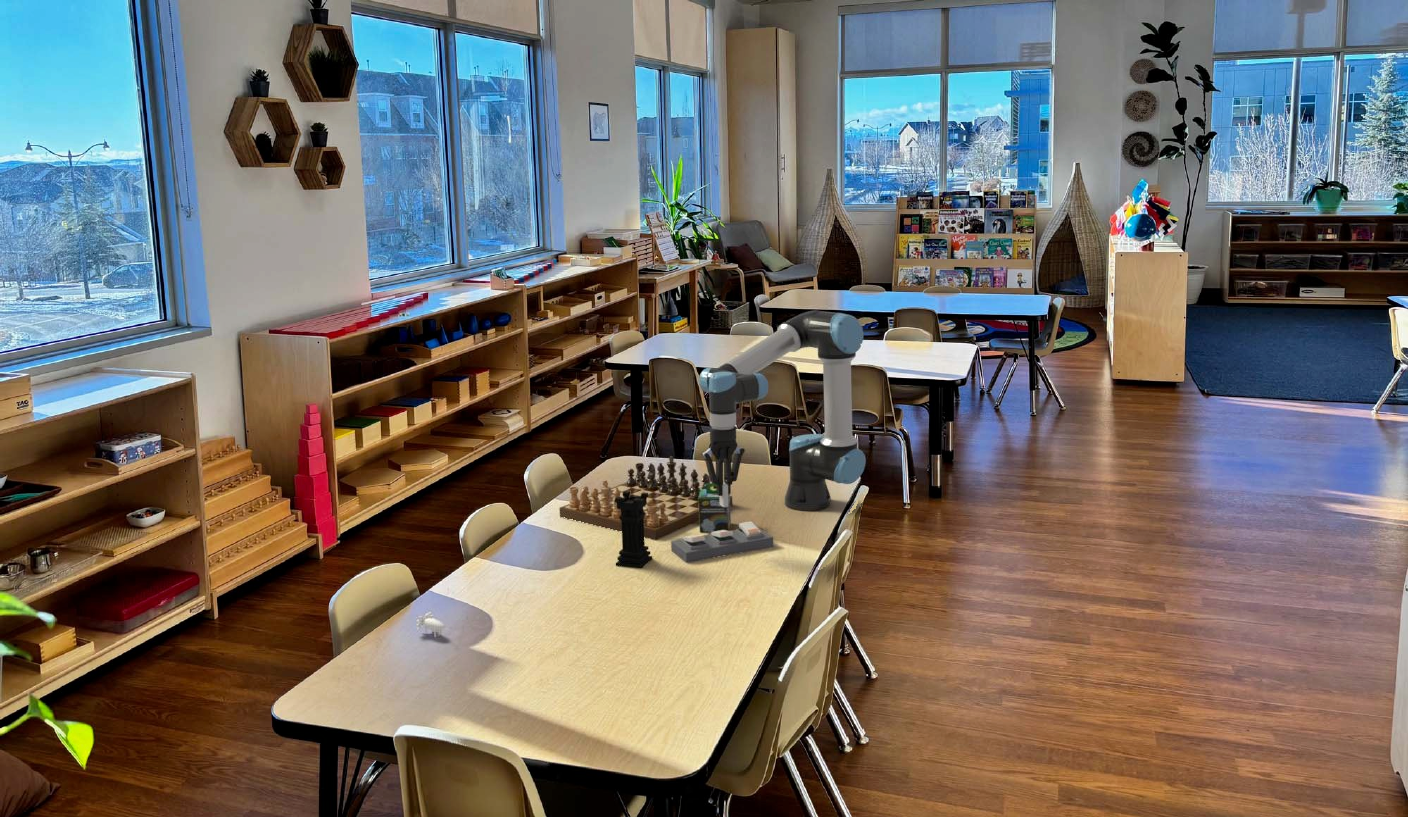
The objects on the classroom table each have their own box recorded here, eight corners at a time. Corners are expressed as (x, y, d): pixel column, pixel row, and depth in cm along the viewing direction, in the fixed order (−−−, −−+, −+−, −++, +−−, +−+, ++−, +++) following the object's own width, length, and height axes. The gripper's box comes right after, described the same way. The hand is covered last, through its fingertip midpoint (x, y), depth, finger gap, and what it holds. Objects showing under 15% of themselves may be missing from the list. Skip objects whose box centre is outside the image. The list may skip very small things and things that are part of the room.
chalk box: (731, 523, 350) (730, 478, 346) (728, 533, 341) (727, 486, 338) (701, 523, 351) (700, 477, 347) (698, 532, 342) (697, 486, 339)
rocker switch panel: (756, 535, 338) (756, 523, 337) (773, 546, 328) (773, 534, 327) (671, 550, 327) (670, 538, 326) (686, 562, 317) (686, 550, 316)
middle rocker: (723, 533, 330) (723, 529, 330) (732, 535, 324) (732, 531, 324) (711, 535, 329) (711, 531, 329) (720, 537, 323) (720, 533, 323)
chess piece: (652, 558, 321) (649, 492, 316) (641, 568, 313) (639, 500, 309) (626, 556, 323) (624, 490, 319) (615, 565, 316) (612, 498, 312)
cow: (412, 633, 274) (410, 615, 273) (429, 626, 278) (428, 608, 277) (444, 645, 267) (442, 627, 266) (461, 638, 271) (459, 619, 270)
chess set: (655, 541, 336) (654, 494, 333) (560, 518, 360) (557, 474, 357) (732, 506, 367) (731, 463, 364) (639, 487, 391) (638, 446, 388)
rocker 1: (696, 538, 327) (695, 534, 327) (704, 540, 321) (704, 536, 321) (683, 540, 325) (683, 536, 325) (692, 542, 319) (691, 538, 319)
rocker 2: (750, 524, 334) (751, 520, 333) (760, 534, 328) (760, 531, 328) (738, 526, 332) (739, 523, 331) (748, 536, 327) (748, 533, 326)
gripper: (737, 421, 323) (738, 499, 328) (696, 426, 318) (698, 505, 323) (749, 426, 316) (749, 506, 321) (707, 431, 311) (708, 512, 316)
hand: (723, 505), depth 322 cm, fingers closed
